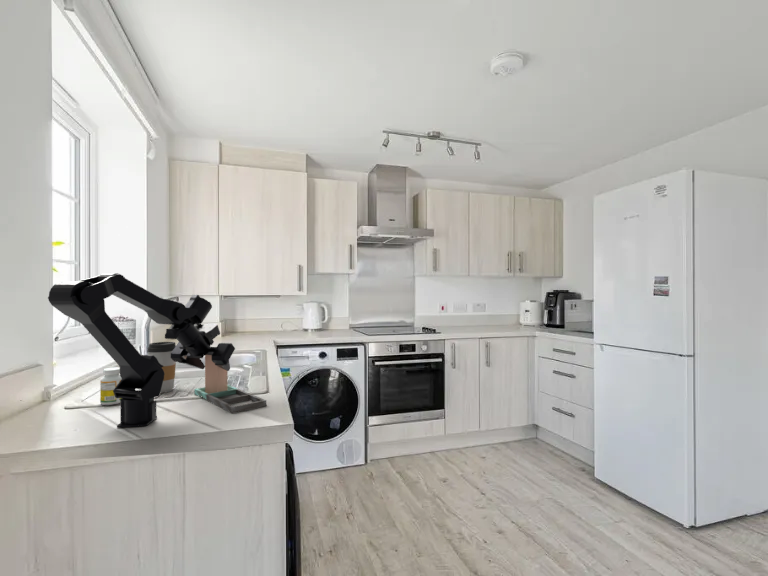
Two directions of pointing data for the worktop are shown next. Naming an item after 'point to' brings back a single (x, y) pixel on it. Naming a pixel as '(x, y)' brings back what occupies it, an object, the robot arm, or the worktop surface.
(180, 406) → the worktop surface
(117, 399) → the supplement bottle
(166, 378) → the coffee cup
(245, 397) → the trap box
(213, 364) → the slim block
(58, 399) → the worktop surface
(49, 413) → the worktop surface
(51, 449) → the worktop surface
